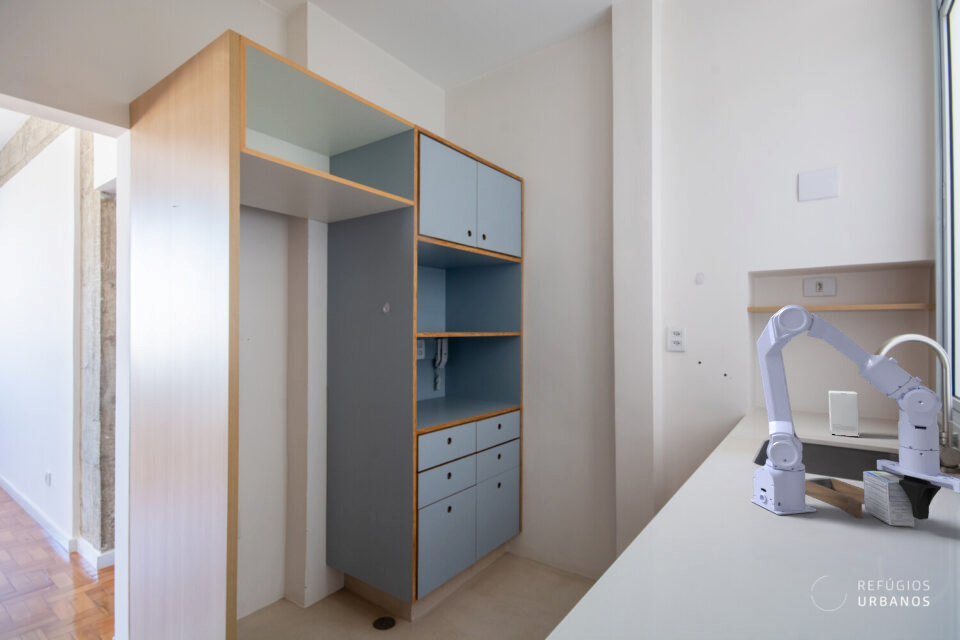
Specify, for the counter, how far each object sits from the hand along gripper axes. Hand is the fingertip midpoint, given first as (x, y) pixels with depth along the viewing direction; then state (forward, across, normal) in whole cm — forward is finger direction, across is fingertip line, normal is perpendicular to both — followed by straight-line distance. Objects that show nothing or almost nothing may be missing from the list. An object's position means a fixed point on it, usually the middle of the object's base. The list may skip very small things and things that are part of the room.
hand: (920, 518), depth 90 cm
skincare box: (+3, +69, -60) cm, 91 cm away
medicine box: (+3, +6, 0) cm, 6 cm away
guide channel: (+3, +15, 0) cm, 15 cm away
